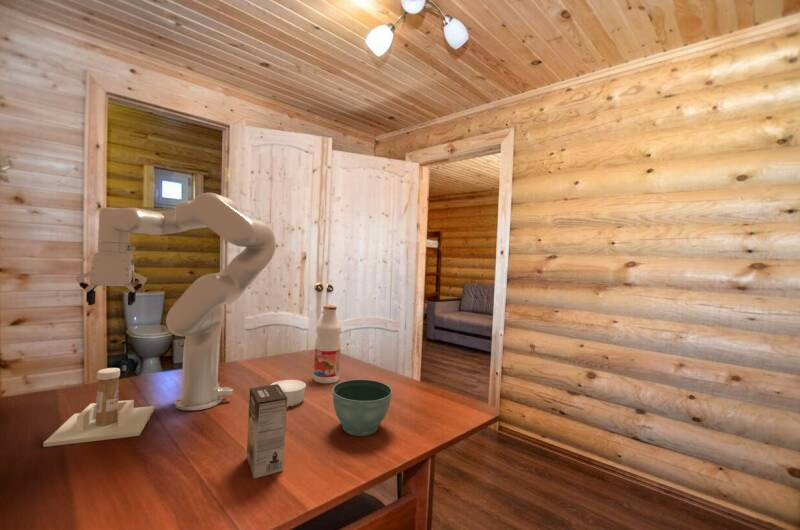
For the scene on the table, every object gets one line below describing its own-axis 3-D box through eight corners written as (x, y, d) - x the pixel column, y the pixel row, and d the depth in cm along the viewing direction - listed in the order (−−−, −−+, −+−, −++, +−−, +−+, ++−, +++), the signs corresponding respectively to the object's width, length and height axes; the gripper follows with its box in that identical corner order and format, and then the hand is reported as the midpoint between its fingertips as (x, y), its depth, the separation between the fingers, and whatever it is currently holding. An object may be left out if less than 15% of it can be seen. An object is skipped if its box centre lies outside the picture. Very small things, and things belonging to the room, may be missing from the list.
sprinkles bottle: (116, 423, 91) (119, 371, 91) (93, 427, 89) (95, 373, 89) (118, 416, 95) (121, 366, 95) (96, 420, 92) (98, 368, 92)
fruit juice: (344, 380, 136) (347, 306, 135) (324, 386, 128) (328, 308, 128) (327, 374, 142) (331, 303, 141) (308, 379, 134) (312, 305, 134)
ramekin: (260, 404, 110) (260, 387, 110) (284, 392, 120) (285, 377, 120) (289, 412, 106) (290, 394, 106) (312, 399, 116) (313, 383, 116)
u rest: (154, 409, 103) (155, 393, 103) (139, 435, 88) (140, 417, 88) (74, 417, 96) (75, 400, 95) (43, 447, 81) (44, 427, 81)
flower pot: (398, 422, 103) (400, 384, 103) (376, 449, 88) (378, 405, 87) (347, 411, 108) (349, 376, 108) (318, 435, 93) (321, 393, 93)
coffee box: (245, 457, 81) (248, 387, 81) (274, 450, 84) (277, 383, 84) (253, 479, 73) (257, 401, 73) (285, 471, 77) (288, 396, 76)
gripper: (150, 250, 116) (148, 303, 116) (83, 247, 109) (80, 303, 109) (144, 250, 109) (142, 306, 109) (72, 246, 102) (69, 306, 102)
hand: (111, 304), depth 109 cm, fingers open, 9 cm apart
